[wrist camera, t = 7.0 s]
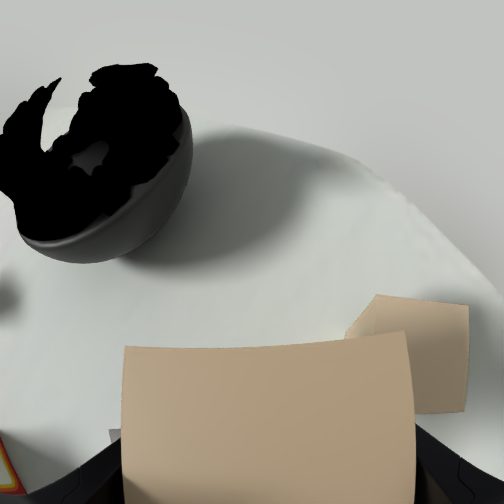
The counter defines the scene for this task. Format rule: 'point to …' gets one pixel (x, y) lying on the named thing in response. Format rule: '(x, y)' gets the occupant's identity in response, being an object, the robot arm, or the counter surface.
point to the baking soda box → (9, 475)
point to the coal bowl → (98, 166)
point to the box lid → (270, 424)
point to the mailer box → (425, 347)
